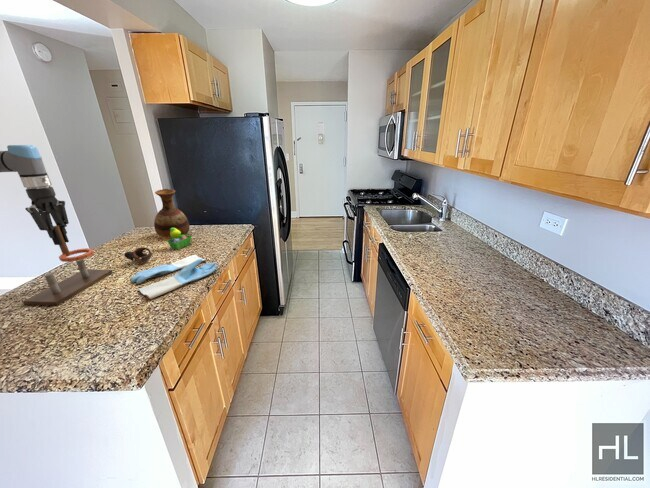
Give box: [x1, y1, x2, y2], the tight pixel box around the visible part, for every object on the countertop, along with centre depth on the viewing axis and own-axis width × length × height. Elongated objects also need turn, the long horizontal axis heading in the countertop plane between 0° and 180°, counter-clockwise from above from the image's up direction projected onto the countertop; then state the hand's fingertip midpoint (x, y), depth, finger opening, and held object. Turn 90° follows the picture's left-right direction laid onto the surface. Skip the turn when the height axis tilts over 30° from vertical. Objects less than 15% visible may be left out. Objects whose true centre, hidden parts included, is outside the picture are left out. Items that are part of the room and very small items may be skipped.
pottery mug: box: [123, 246, 154, 266], centre depth 132 cm, size 12×10×8 cm
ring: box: [53, 225, 95, 263], centre depth 109 cm, size 11×11×14 cm
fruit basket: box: [166, 228, 192, 250], centre depth 150 cm, size 11×9×11 cm
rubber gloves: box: [129, 254, 219, 300], centre depth 119 cm, size 27×33×6 cm
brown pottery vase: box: [153, 188, 190, 238], centre depth 165 cm, size 20×20×30 cm
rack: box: [22, 259, 113, 306], centre depth 108 cm, size 13×26×10 cm, turn 178°
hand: (61, 243), depth 110 cm, fingers closed on ring, 2 cm apart
